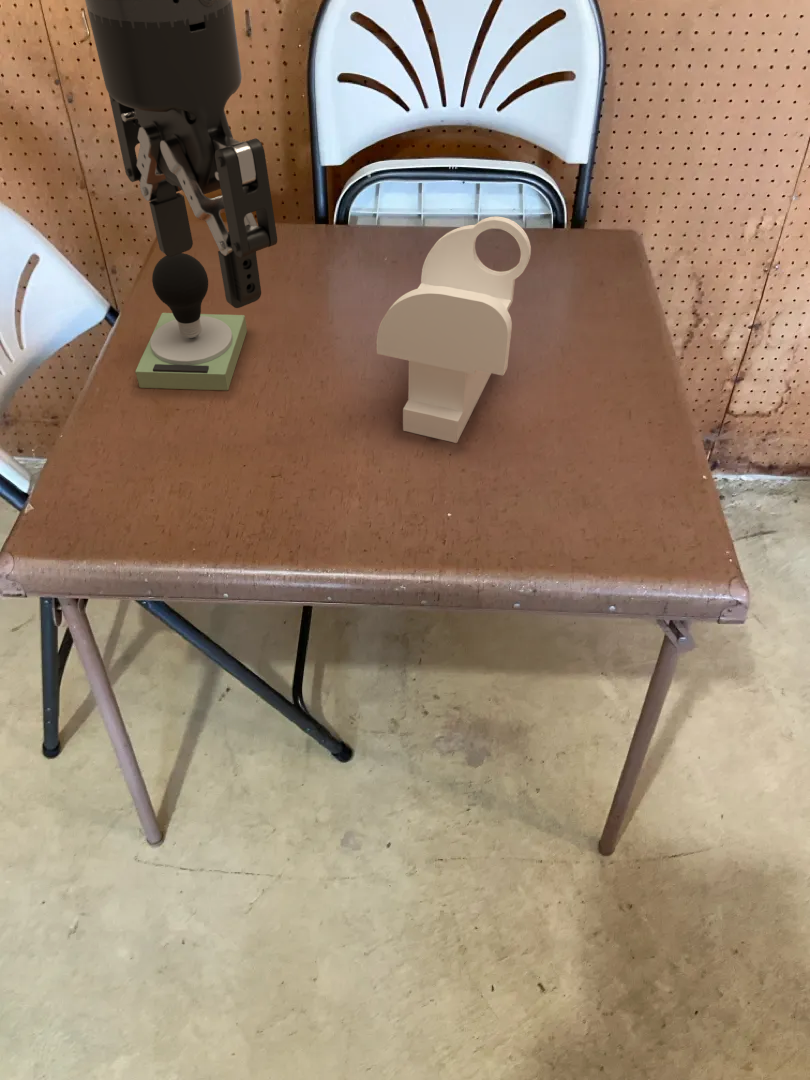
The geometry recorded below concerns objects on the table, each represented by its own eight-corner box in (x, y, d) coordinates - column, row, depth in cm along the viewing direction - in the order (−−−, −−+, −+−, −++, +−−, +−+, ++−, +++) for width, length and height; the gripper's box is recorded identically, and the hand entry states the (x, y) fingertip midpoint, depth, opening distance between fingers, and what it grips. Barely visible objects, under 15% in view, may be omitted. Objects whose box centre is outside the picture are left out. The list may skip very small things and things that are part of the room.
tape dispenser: (422, 354, 99) (425, 204, 86) (529, 376, 96) (549, 224, 83) (378, 425, 90) (374, 270, 76) (495, 453, 87) (511, 296, 73)
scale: (228, 390, 94) (224, 369, 92) (139, 387, 94) (133, 366, 92) (247, 331, 102) (244, 310, 100) (165, 328, 102) (160, 308, 100)
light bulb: (172, 323, 98) (154, 242, 91) (222, 324, 98) (208, 243, 91) (160, 351, 94) (140, 269, 87) (212, 353, 94) (196, 270, 87)
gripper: (34, -22, 46) (108, 253, 58) (161, 41, 39) (218, 343, 51) (156, -44, 50) (203, 221, 61) (295, 11, 42) (318, 300, 54)
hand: (210, 276), depth 56 cm, fingers open, 8 cm apart
